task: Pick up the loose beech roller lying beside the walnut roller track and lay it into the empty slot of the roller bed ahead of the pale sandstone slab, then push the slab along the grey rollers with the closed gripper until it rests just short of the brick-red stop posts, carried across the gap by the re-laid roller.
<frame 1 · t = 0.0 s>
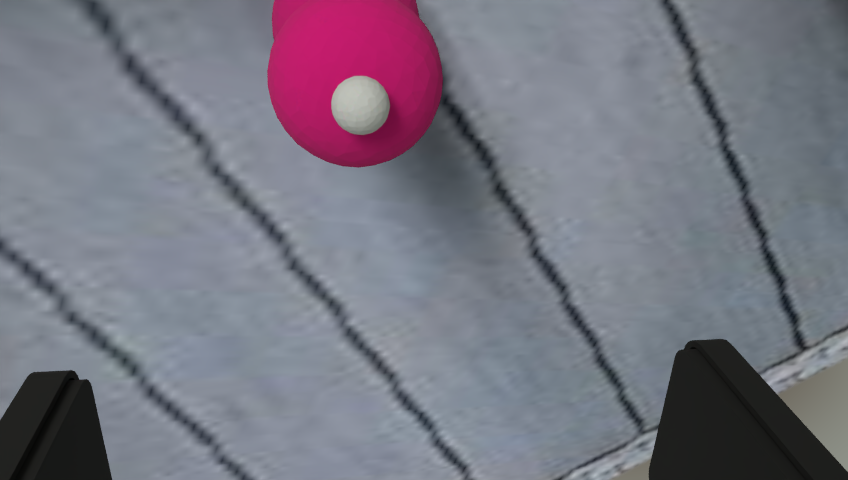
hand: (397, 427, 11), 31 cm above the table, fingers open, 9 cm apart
pepper mill: (344, 12, 38), on the table
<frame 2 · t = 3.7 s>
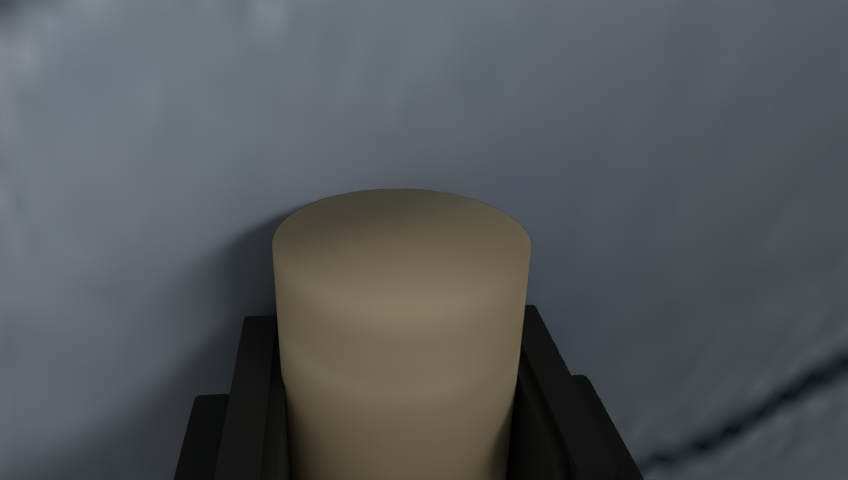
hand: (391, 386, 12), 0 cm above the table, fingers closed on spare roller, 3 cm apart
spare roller: (398, 434, 11), point 2 cm above the table, touching gripper
when the fingers open (3 cm above the table, at t = 8.7 s): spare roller stays where it is, point 2 cm above the table.
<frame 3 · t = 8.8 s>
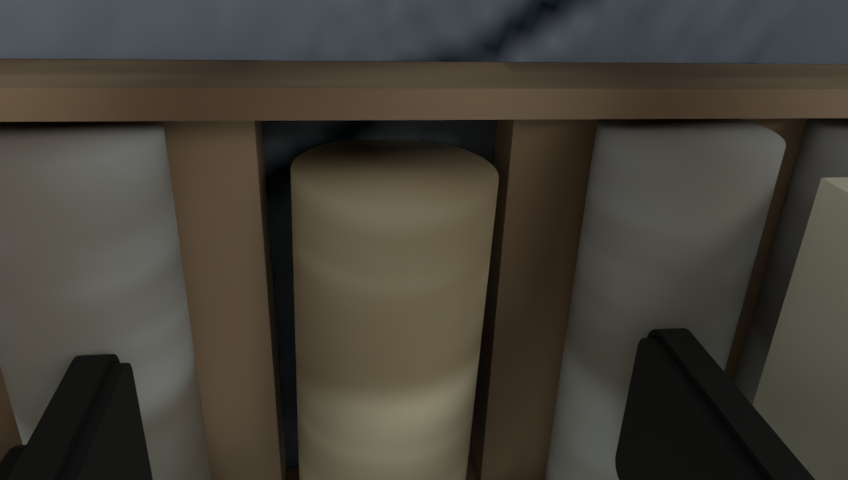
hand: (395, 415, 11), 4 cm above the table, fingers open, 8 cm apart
track: (607, 291, 15), on the table
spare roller: (388, 341, 13), point 2 cm above the table
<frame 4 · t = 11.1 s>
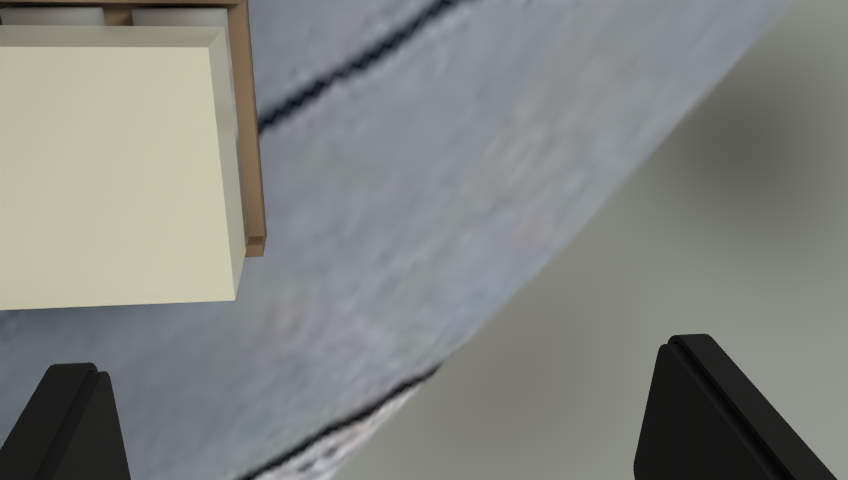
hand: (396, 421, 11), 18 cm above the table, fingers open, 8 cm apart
slab: (50, 150, 23), point 3 cm above the table, touching track
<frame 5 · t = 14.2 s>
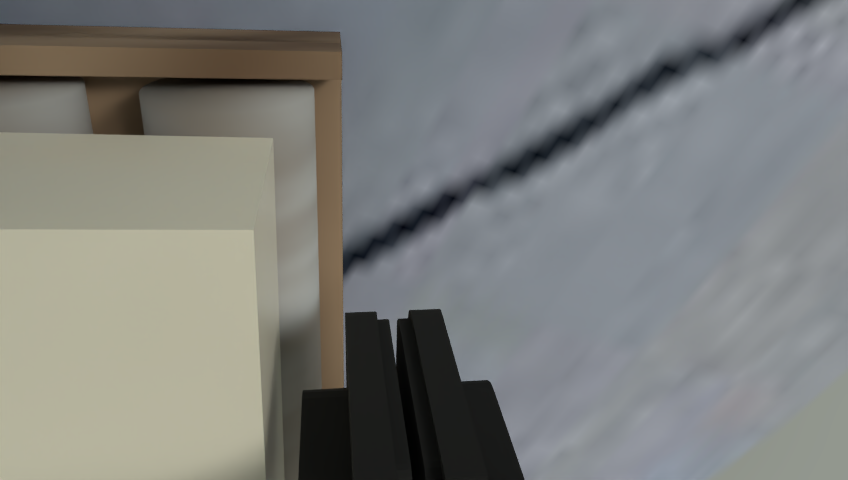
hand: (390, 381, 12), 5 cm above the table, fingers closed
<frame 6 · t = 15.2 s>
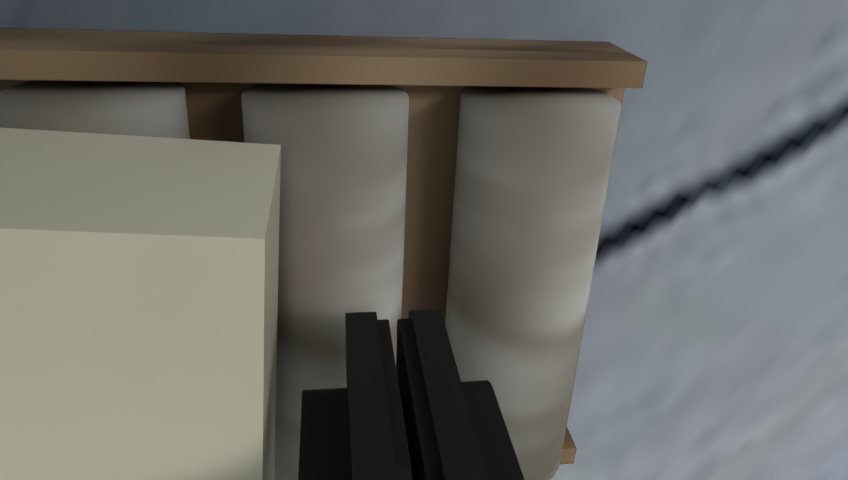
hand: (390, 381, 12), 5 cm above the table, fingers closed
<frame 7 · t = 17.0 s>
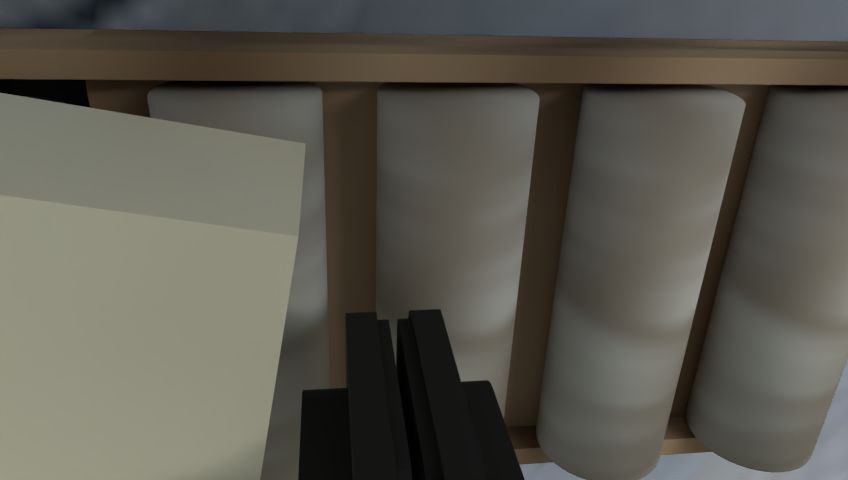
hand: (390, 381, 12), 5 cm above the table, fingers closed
track: (261, 254, 16), on the table
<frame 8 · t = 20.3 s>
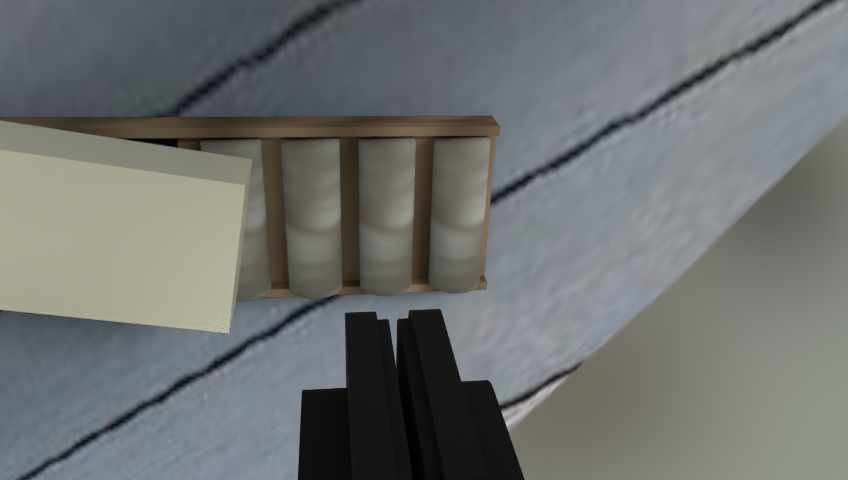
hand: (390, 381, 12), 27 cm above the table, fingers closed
track: (241, 203, 39), on the table
slab: (121, 215, 35), point 3 cm above the table, touching track
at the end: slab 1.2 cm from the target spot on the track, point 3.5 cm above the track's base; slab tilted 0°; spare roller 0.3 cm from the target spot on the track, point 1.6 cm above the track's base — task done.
